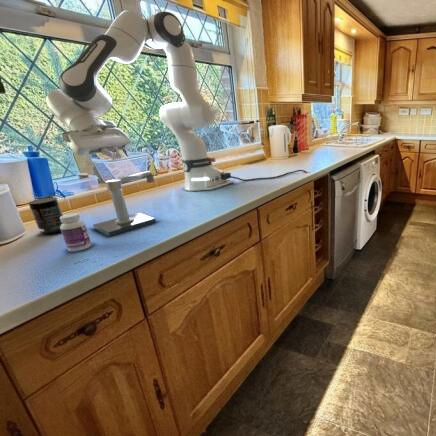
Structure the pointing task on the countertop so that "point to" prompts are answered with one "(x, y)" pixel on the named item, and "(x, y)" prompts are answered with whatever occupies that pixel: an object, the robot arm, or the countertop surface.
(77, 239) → the pill bottle
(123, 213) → the tap stand
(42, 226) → the supplement container
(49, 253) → the countertop surface
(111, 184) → the spout
